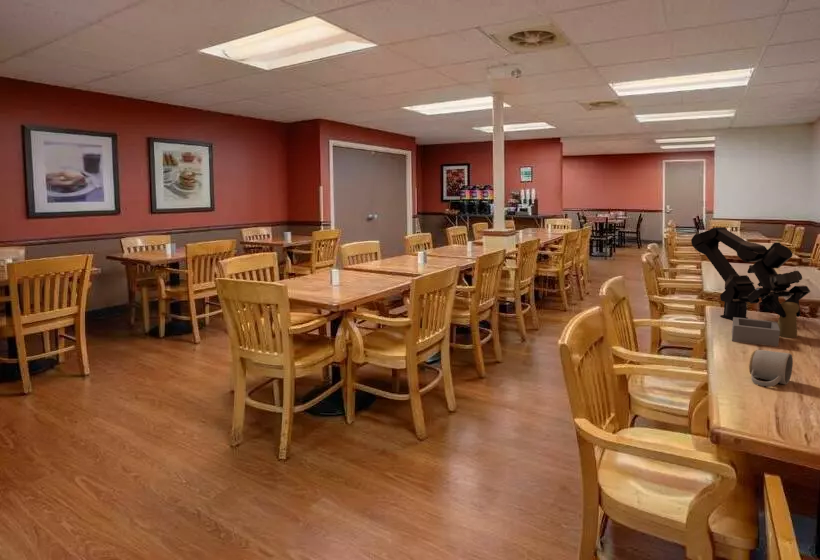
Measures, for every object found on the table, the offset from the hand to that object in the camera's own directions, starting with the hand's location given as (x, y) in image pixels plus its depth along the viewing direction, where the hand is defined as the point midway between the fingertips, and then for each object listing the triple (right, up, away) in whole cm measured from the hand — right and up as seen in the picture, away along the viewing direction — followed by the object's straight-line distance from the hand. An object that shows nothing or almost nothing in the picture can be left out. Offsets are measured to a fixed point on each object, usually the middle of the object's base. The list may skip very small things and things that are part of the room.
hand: (791, 316), depth 172 cm
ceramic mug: (-32, -14, -36) cm, 50 cm away
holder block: (-13, -7, -1) cm, 15 cm away
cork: (0, -6, +3) cm, 7 cm away
